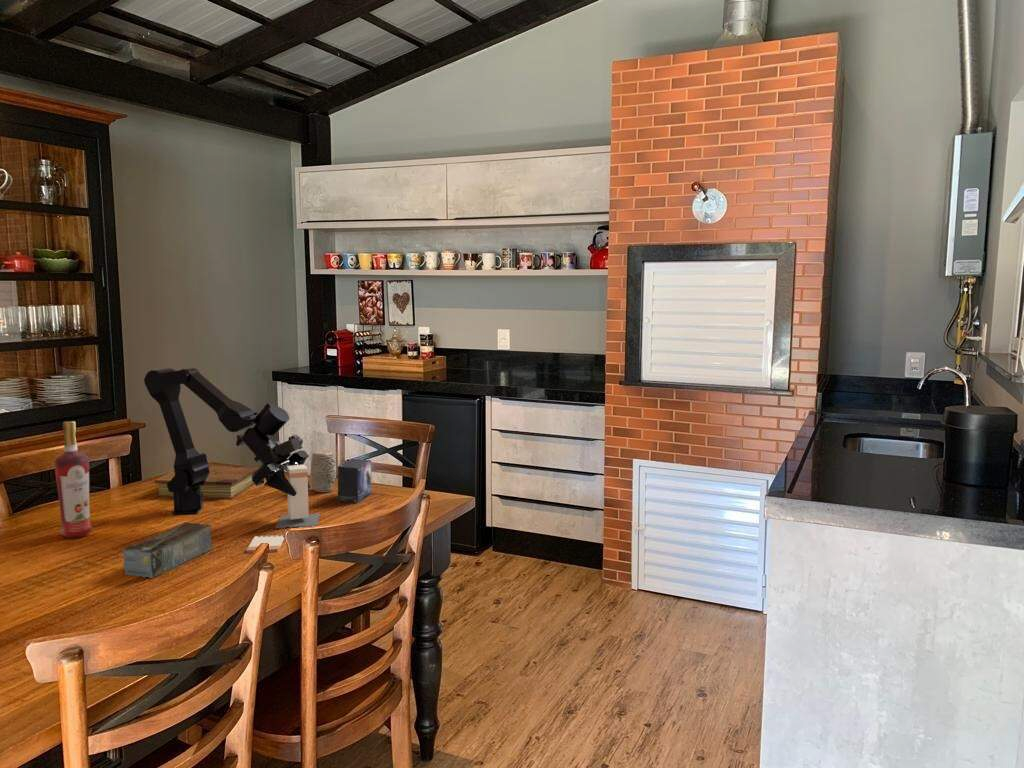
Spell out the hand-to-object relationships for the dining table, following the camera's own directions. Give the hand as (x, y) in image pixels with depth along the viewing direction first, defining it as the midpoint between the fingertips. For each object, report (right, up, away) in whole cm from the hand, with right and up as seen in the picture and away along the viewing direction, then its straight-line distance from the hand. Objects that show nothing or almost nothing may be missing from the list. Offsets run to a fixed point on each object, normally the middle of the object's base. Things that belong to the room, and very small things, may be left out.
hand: (302, 491), depth 197 cm
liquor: (-52, -9, -10) cm, 54 cm away
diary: (-37, -5, +32) cm, 49 cm away
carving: (-2, -4, +31) cm, 32 cm away
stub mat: (-1, -8, +1) cm, 8 cm away
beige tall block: (-1, -7, +1) cm, 7 cm away
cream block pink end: (-4, -10, -17) cm, 20 cm away
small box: (+9, -5, +24) cm, 26 cm away
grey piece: (-22, -12, -27) cm, 37 cm away
